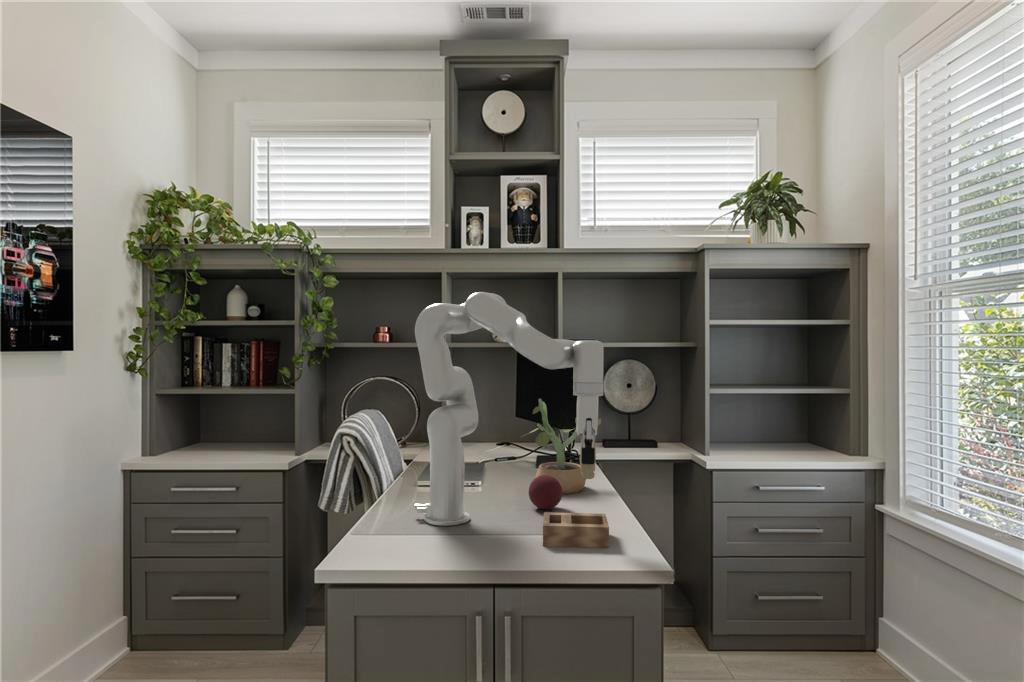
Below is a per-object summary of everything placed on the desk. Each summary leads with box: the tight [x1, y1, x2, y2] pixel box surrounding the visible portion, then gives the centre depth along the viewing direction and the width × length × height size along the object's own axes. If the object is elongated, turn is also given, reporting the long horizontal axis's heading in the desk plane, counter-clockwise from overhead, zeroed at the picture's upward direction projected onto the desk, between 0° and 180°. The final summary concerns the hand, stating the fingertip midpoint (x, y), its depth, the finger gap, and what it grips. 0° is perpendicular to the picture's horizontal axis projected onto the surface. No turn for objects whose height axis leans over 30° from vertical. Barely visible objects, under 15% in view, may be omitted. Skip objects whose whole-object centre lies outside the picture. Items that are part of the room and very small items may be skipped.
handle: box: [575, 417, 602, 480], centre depth 163 cm, size 5×6×15 cm
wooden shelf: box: [542, 511, 610, 549], centre depth 164 cm, size 16×12×5 cm
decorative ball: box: [528, 475, 563, 511], centre depth 192 cm, size 10×10×10 cm
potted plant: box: [518, 398, 587, 495], centre depth 219 cm, size 22×18×30 cm
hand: (587, 461), depth 163 cm, fingers closed on handle, 4 cm apart
